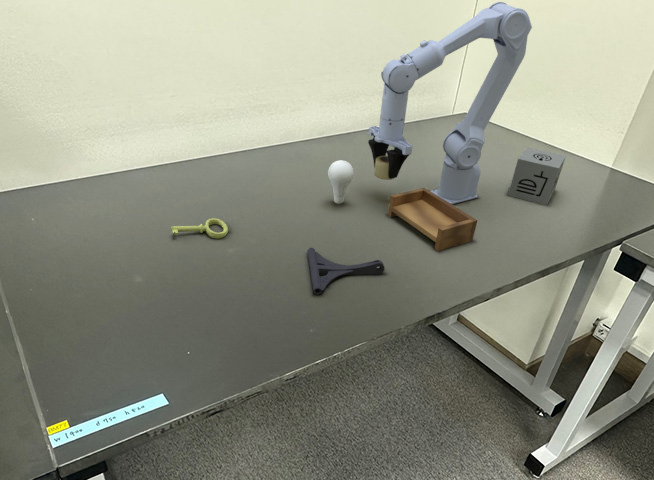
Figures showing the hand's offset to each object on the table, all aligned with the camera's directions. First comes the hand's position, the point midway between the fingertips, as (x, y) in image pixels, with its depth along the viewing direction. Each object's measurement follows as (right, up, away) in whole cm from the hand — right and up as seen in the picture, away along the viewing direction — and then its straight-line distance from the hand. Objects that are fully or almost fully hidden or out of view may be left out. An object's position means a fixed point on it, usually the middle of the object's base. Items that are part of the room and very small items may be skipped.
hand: (385, 172), depth 131 cm
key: (-42, -17, -13) cm, 47 cm away
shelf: (+9, -15, -7) cm, 18 cm away
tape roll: (0, -1, 0) cm, 1 cm away
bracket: (-11, -26, -24) cm, 37 cm away
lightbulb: (-12, -8, +1) cm, 14 cm away
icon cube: (+40, -3, +11) cm, 42 cm away
